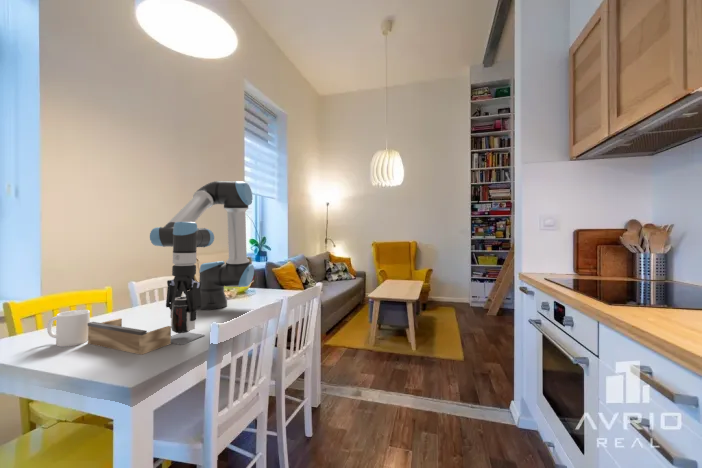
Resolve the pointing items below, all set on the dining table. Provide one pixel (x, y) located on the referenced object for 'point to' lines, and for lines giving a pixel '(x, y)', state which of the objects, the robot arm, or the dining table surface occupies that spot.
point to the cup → (70, 327)
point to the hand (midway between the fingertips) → (182, 328)
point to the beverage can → (179, 315)
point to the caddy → (127, 337)
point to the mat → (184, 338)
